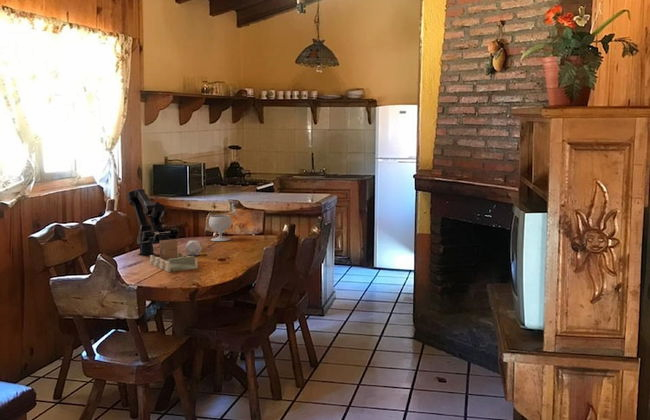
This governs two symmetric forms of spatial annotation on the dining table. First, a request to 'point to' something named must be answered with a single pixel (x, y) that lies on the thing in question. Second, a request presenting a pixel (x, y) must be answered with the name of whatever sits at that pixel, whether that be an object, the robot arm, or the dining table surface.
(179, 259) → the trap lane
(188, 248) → the die
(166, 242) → the walnut block
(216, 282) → the dining table surface
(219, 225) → the chalice
